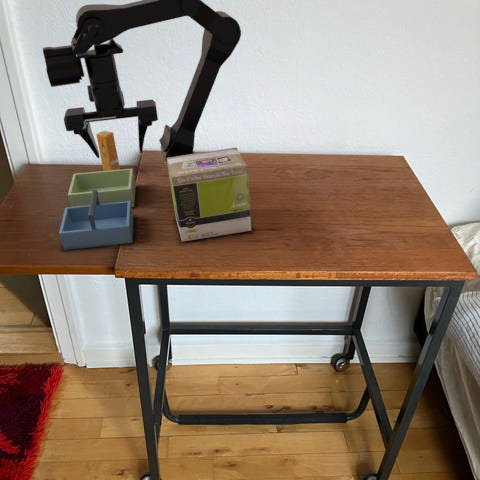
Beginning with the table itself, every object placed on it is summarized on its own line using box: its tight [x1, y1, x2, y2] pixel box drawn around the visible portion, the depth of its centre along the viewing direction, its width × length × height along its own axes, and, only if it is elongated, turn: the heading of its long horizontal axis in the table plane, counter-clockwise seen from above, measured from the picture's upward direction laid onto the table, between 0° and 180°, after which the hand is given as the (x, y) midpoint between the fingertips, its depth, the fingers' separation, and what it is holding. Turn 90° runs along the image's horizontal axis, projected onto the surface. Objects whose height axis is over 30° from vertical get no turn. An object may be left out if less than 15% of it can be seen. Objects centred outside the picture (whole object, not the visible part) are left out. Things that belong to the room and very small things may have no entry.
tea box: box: [166, 147, 252, 243], centre depth 110 cm, size 15×10×15 cm, turn 102°
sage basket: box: [67, 168, 137, 208], centre depth 125 cm, size 14×11×4 cm
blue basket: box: [58, 190, 134, 251], centre depth 112 cm, size 14×11×7 cm
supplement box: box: [96, 130, 121, 171], centre depth 135 cm, size 3×3×10 cm
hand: (119, 154), depth 116 cm, fingers open, 9 cm apart
